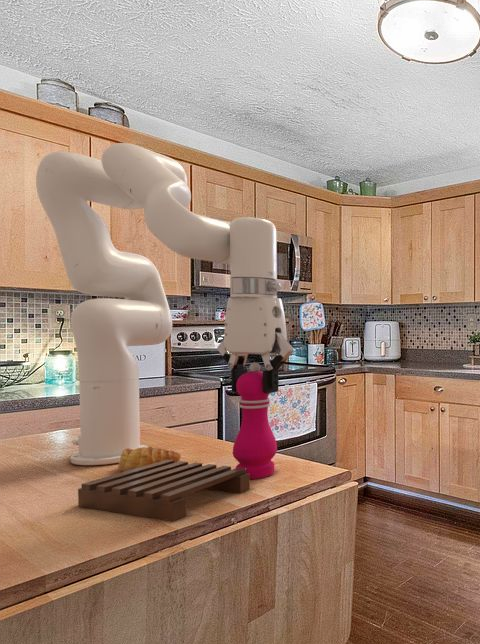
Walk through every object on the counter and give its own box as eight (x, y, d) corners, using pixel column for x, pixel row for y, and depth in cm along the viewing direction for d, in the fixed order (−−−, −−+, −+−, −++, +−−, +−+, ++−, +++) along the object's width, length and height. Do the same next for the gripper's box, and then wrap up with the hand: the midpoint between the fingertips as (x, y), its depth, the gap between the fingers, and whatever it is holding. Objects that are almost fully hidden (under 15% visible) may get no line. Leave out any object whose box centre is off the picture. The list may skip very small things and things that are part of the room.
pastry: (182, 460, 97) (182, 440, 97) (177, 469, 91) (177, 449, 91) (125, 465, 93) (124, 445, 93) (115, 475, 87) (115, 454, 87)
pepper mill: (260, 481, 84) (260, 364, 84) (223, 478, 86) (222, 363, 85) (285, 469, 91) (285, 361, 91) (250, 467, 93) (250, 360, 92)
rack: (78, 506, 72) (77, 483, 72) (164, 478, 86) (164, 459, 86) (173, 521, 67) (173, 496, 67) (249, 489, 80) (249, 468, 80)
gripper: (309, 290, 88) (309, 391, 89) (231, 292, 94) (232, 387, 94) (280, 287, 81) (281, 396, 82) (197, 289, 86) (199, 392, 87)
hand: (255, 390), depth 88 cm, fingers closed on pepper mill, 6 cm apart
